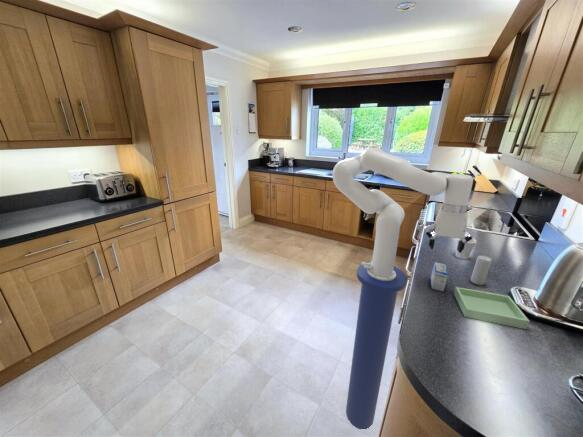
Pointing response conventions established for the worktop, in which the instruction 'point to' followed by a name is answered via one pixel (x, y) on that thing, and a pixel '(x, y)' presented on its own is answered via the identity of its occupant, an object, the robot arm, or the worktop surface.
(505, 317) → the tray
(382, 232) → the robot arm
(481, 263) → the beverage can
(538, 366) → the worktop surface
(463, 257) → the dixie cup
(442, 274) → the medicine box
